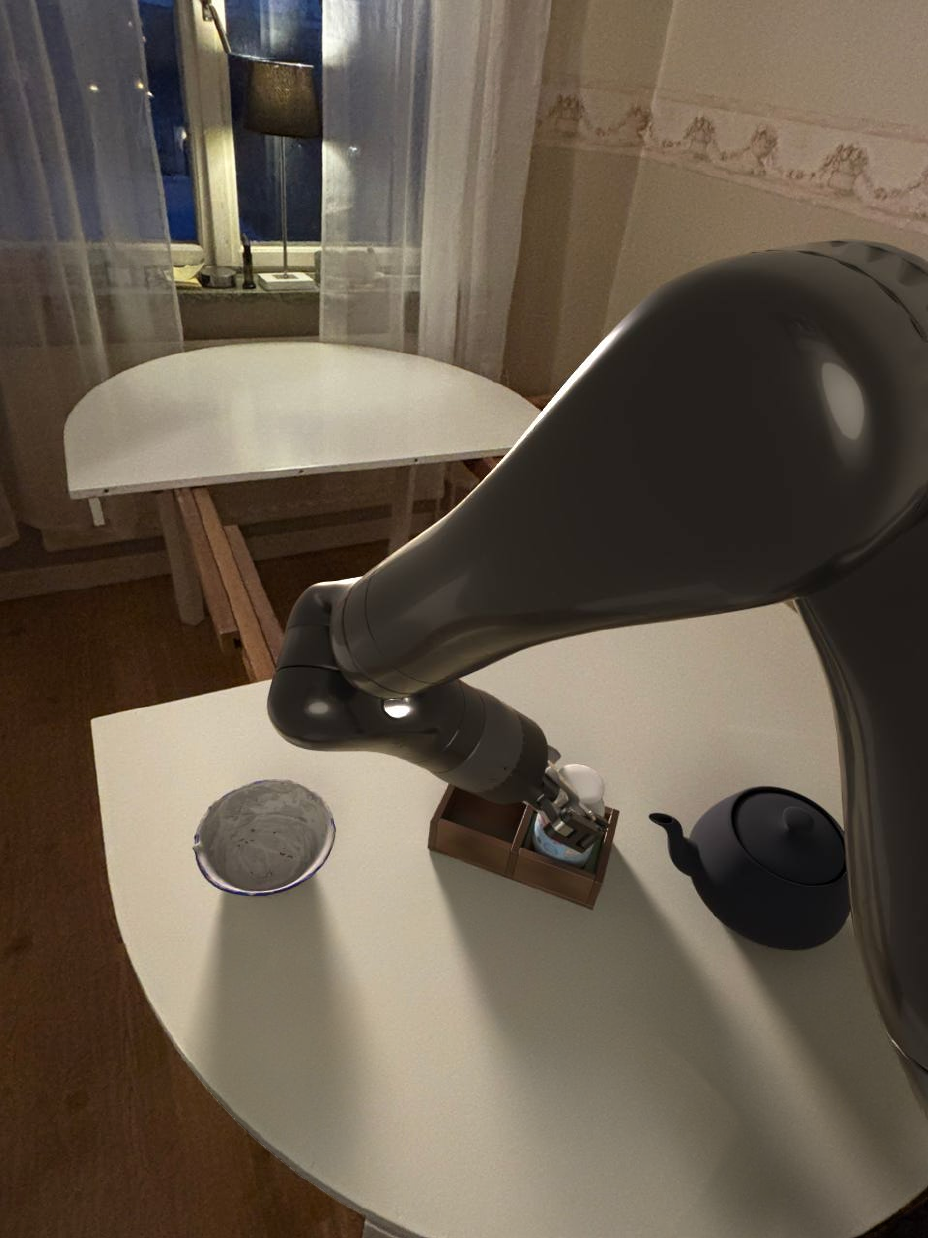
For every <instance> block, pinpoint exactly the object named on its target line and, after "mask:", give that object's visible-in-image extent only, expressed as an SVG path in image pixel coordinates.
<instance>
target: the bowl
mask: <svg viewBox="0 0 928 1238" xmlns="http://www.w3.org/2000/svg"><path fill="white" fill-rule="evenodd" d="M336 833H337V827H336V825H335V820H334V816H333V813H332V811H331V809H330V806H329V805H328V804H327V802H326V801H325V800H324V799H323V797H322V796H321V795H320V794H319V793H317V792H316V791H315V790H313V789H312V788H310V787H308V786H307V785H306V784H304V783H301V782H298V781H293V780H290V779H285V778H283V779H282V778H272V779H270V778H269V779H263V780H255V781H253V782H250V783H246V784H243V785H241V786H239V787H237V788H235V789H232V790H230V791H229V792H227V793H226V794H224V795H223V796H221V797H219V798H218V799H215V800H214V801H213V802H211V803H210V805H209V806H208V808H207V810H206V811H205V812H204V814H203V816H202V818H201V820H200V821H199V823H198V825H197V829H196V832H195V834H194V837H193V839H194V845H193V846H192V848H191V849H192V850H193V852H194V857H195V862H196V865H197V868H198V870H199V871H200V873H201V875H202V876H203V878H204V879H205V880H206V881H207V882H208V883H209V884H210V885H211V886H213V887H214V888H216V889H217V890H219V891H222V892H225V893H228V894H231V895H237V896H241V897H247V898H254V899H269V898H274V897H278V896H281V895H283V894H286V893H287V892H290V891H291V890H294V888H296V887H298V886H300V885H302V884H303V883H305V882H306V881H308V880H309V879H311V878H312V877H313V876H314V875H316V873H317V872H318V871H319V870H320V869H321V868H322V867H323V866H324V865H325V863H326V862H327V861H328V858H329V856H330V854H331V852H332V850H333V847H334V845H335V844H334V843H335V840H336Z"/></svg>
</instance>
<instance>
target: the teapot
mask: <svg viewBox="0 0 928 1238" xmlns="http://www.w3.org/2000/svg"><path fill="white" fill-rule="evenodd" d="M648 819H649V820H650V822H652V823H654V824H656V825H658V826H659V827H661V828H663V829H664V831H665V833H666V835H667V836H666V837H667V839H666V840H667V843H666V844H667V851H668V855H669V858H670V860H671V862H672V864H673V865H674V867H675V868H676V869H677V870H678V871H679V872H681V873H682V874H683V875H686V876H687V877H689V878H690V879H691V882H692V885H693V887H694V889H695V891H696V893H697V894H698V896H699V898H700V899H701V901H702V903H703V904H704V906H706V908H707V909H708V910H709V912H711V914H712V915H713V916H714V917H715V918H716V919H717V920H719V922H721V923H722V924H723V925H724V926H725V927H726V928H728V929H729V930H730V931H732V932H733V933H735V934H737V935H738V936H740V937H742V938H744V939H746V940H748V941H750V942H752V943H753V944H757V945H759V946H763V947H766V948H770V949H774V950H781V951H791V952H793V951H794V952H795V951H804V950H811V949H813V948H816V947H817V948H818V947H820V946H822V945H824V944H826V943H828V942H829V941H831V940H832V939H833V938H835V937H836V936H837V935H838V934H839V933H840V931H841V930H842V929H843V927H844V926H845V924H846V922H847V920H848V918H849V916H850V915H851V911H850V903H849V895H848V883H847V871H846V860H845V841H844V828H843V827H842V826H841V825H840V824H839V822H838V821H837V820H836V819H835V818H834V817H833V816H832V814H830V813H829V811H827V810H826V809H825V808H824V807H823V806H821V805H820V804H818V803H817V802H816V801H814V800H812V799H811V798H810V797H809V798H808V797H807V796H806V795H803V794H802V793H799V792H796V791H794V790H791V789H787V788H785V787H784V788H783V787H780V786H779V787H778V786H772V785H759V786H751V787H749V788H744V789H743V790H741V791H737V792H736V793H733V794H732V795H731V794H730V795H729V796H728V797H725V798H724V799H721V800H720V801H718V802H717V803H715V804H714V805H712V806H711V807H710V808H709V809H707V811H705V812H704V813H703V814H702V815H701V816H700V818H699V819H698V820H697V821H696V823H695V824H694V826H693V828H691V832H690V833H689V837H687V836H684V829H683V826H682V824H681V822H680V821H679V819H677V818H675V817H674V816H673V815H670V814H667V813H662V812H651V813H649V814H648Z"/></svg>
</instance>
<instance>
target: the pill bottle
mask: <svg viewBox="0 0 928 1238" xmlns="http://www.w3.org/2000/svg"><path fill="white" fill-rule="evenodd" d="M558 773H559V774H560V775H561V776H562V777H563V778H564V779H565V780H566V781H567V782H568V783H569V784H570V785H571V786H572V787H574V788H575V789H576V790H577V792H578V795H579V799H580V802H581V803H582V804H583V805H584V806H585V807H586V808H587V809H588V810H590V811H592V812H594V813H596V814H598V815H600V816H602V817H604V814H605V806H606V805H605V801H604V794H605V782H604V780H603V778H602V777H601V775H600V774H599V773H598V772H597V771H595V770H594V769H593V768H590V767H589V766H586V765H583V764H577V763H571V764H567V765H565V766H563V767H562V768H560V769H559V770H558ZM566 794H567V793H565V792H564V791H563V790H562V789H561V788H560V791H559V794H558V797H557V799H556V801H555V802H554V803H555V804H556V803H558V802H559V801H560V800H561V799H562V798H563V797H564V796H565V795H566ZM572 810H573V812H575V813H577V814H580V813H579V812H578V811H577V810H576V809H572ZM547 823H549V822H548V821H547V820H546V819H544V818H543V817H542V816H541V815H540V814H539V813H538V815H537V819H536V822H535V826H534V830H533V833H532V837H531V841H530V851H532V852H535V853H537V854H540V855H543V856H546V857H548V858H551V859H554V860H557V861H559V862H562V863H565V864H568V865H570V866H573V867H576V868H579V869H581V870H582V869H583V868H584V867H585V865H586V864H587V861H588V859H589V856H590V854H591V851H592V848H593V846H594V844H593V845H592V846H591V847H589V848H588V849H587V850H586V851H585V852H584V853H583V854H582V853H580V852H577V851H575V850H573V849H571V848H569V847H567V846H565V845H563V844H561V843H559V842H557V841H554V840H552V839H551V838H549V837H548V836H547V835H546V834H545V832H544V830H543V827H544V826H545V825H546V824H547Z"/></svg>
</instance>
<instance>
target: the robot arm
mask: <svg viewBox="0 0 928 1238" xmlns="http://www.w3.org/2000/svg"><path fill="white" fill-rule="evenodd" d="M788 602H792V604H793V606H794V607H795V609H796V611H797V614H798V616H799V619H800V622H801V623H802V625H803V627H804V629H805V632H806V634H807V636H808V638H809V641H810V643H811V645H812V647H813V650H814V652H815V655H816V658H817V661H818V663H819V667H820V669H821V672H822V674H823V677H824V681H825V685H826V689H827V692H828V695H829V696H828V697H829V701H830V704H831V708H832V713H833V720H834V725H835V731H836V739H837V741H836V742H837V750H838V751H837V752H838V763H839V775H840V776H839V777H840V790H841V792H840V793H841V807H842V823H843V831H844V841H845V860H846V871H847V883H848V895H849V903H850V916H851V922H852V923H851V924H852V930H853V934H854V939H855V944H856V949H857V953H858V957H859V961H860V966H861V970H862V973H863V976H864V980H865V984H866V987H867V989H868V991H869V995H870V997H871V1000H872V1003H873V1005H874V1008H875V1010H876V1013H877V1015H878V1017H879V1020H880V1022H881V1024H882V1026H883V1029H884V1031H885V1033H886V1036H887V1038H888V1040H889V1043H890V1045H891V1047H892V1050H893V1052H894V1054H895V1056H896V1058H897V1061H898V1063H899V1065H900V1067H901V1068H902V1072H903V1074H904V1076H905V1078H906V1080H907V1083H908V1085H909V1087H910V1089H911V1092H912V1094H913V1096H914V1099H915V1100H916V1102H917V1105H918V1107H919V1109H920V1111H921V1112H922V1114H923V1116H924V1119H925V1121H926V1122H927V1123H928V261H927V260H926V259H925V258H923V257H922V256H920V255H918V254H915V253H912V252H910V251H907V250H904V249H902V248H900V247H897V246H895V245H892V244H890V243H886V242H878V241H873V240H866V239H859V238H858V239H857V238H841V239H840V238H839V239H829V240H820V241H813V242H812V241H811V242H804V243H801V244H795V245H790V246H783V247H778V248H770V249H765V250H762V251H751V252H747V253H742V254H737V255H733V256H729V257H724V258H720V259H716V260H713V261H710V262H708V263H706V264H704V265H701V266H698V267H696V268H695V269H691V270H689V271H687V272H685V273H682V274H680V275H678V276H676V277H674V278H672V279H670V280H668V281H667V282H665V283H664V284H662V285H661V286H659V287H658V288H656V289H655V290H653V291H652V292H651V293H649V294H648V295H646V297H645V298H643V299H642V300H641V301H640V302H639V303H637V305H635V306H634V307H633V308H632V309H631V310H630V311H629V312H628V313H627V315H626V316H624V317H623V318H622V319H621V321H620V322H619V323H617V324H616V325H615V326H614V327H613V329H612V330H611V331H610V332H609V333H608V334H607V335H606V336H605V337H604V338H603V340H602V341H600V343H599V344H598V345H597V346H596V347H595V348H594V350H593V351H592V352H591V353H590V354H589V355H588V356H587V358H586V359H585V360H584V361H583V362H582V363H581V364H580V366H579V367H578V368H577V369H576V370H575V371H574V372H573V374H572V375H571V376H570V377H569V378H568V379H567V381H566V382H565V383H564V384H563V385H562V387H561V388H560V389H559V391H557V393H555V395H554V397H553V398H552V399H551V400H550V401H549V402H548V404H547V405H546V406H545V407H544V408H543V410H542V411H541V412H540V414H539V415H538V416H537V417H536V418H535V420H534V421H533V422H532V423H531V424H530V426H529V427H528V428H527V430H526V431H525V432H524V433H523V435H521V437H520V438H519V439H518V440H517V442H516V443H515V444H514V446H513V447H512V448H511V449H510V450H509V452H508V453H507V454H506V455H505V456H504V457H503V458H502V459H501V460H500V461H499V463H497V464H496V466H495V467H494V468H493V469H492V470H491V472H489V473H488V474H487V476H486V477H485V478H484V479H483V480H482V481H480V483H479V484H478V485H477V486H475V488H474V489H473V490H472V491H471V492H470V493H469V494H468V495H467V496H465V498H464V499H463V500H461V501H460V503H459V504H458V505H456V506H455V507H454V508H452V510H451V511H450V512H448V513H447V514H446V515H445V516H444V517H442V518H441V519H439V520H438V521H437V522H436V523H434V524H433V525H431V526H430V527H428V528H427V529H426V530H424V531H422V532H421V533H420V534H419V535H417V536H416V537H415V538H412V539H411V540H410V541H408V542H407V543H405V544H404V545H403V546H402V547H400V548H399V549H397V550H396V551H395V552H393V553H392V554H390V555H389V556H388V557H386V558H384V560H382V561H381V562H380V563H378V564H376V565H375V566H374V567H373V568H371V569H370V570H369V571H367V572H366V573H365V574H364V575H363V576H359V577H358V576H357V577H352V578H347V579H341V580H336V581H323V582H319V583H314V584H312V585H311V586H308V587H307V588H306V589H305V590H304V591H302V593H301V594H300V596H299V597H298V599H297V600H296V602H295V603H294V605H293V607H292V609H291V610H290V614H289V617H288V620H287V622H286V627H285V630H284V635H283V637H282V641H281V646H280V648H279V649H280V650H279V653H278V657H277V661H276V664H275V669H274V673H273V675H272V678H271V682H270V686H269V691H268V694H267V699H266V712H267V714H266V715H267V717H268V720H269V723H270V724H271V726H272V728H273V729H274V730H275V732H276V733H277V734H278V735H279V736H280V737H281V738H282V739H283V740H285V741H286V742H287V743H289V744H291V745H292V746H294V747H297V748H299V749H302V750H308V751H315V752H324V753H325V752H327V753H330V752H331V753H335V752H336V753H338V752H339V753H341V752H347V753H348V752H349V753H350V752H354V753H355V752H367V753H376V754H382V755H387V756H391V757H396V758H398V759H399V760H403V761H405V762H407V763H410V764H412V765H415V766H417V767H419V768H421V769H423V770H426V771H428V772H429V773H430V774H432V775H433V776H435V777H436V778H438V779H439V780H441V781H443V782H445V783H447V784H451V785H453V786H456V787H458V788H460V789H463V790H465V791H467V792H470V793H472V794H475V795H477V796H479V797H481V798H484V799H486V800H488V801H491V802H494V803H498V804H510V803H516V802H521V801H522V802H523V803H524V804H526V805H530V806H532V807H533V808H534V809H535V810H536V811H537V812H538V813H539V814H540V815H541V816H542V817H543V818H544V819H546V820H547V821H548V822H549V823H547V824H546V825H545V826H544V827H543V830H544V832H545V834H546V835H547V836H548V837H549V838H551V839H552V840H554V841H557V842H559V843H561V844H563V845H565V846H567V847H569V848H571V849H573V850H575V851H577V852H580V853H582V854H583V853H584V852H585V851H586V850H587V849H588V848H589V847H591V846H592V845H593V844H594V843H595V842H596V841H598V840H599V839H600V838H601V837H602V836H603V835H604V834H605V833H606V832H608V830H607V828H608V827H609V826H610V824H609V823H608V821H607V820H606V819H605V818H604V817H602V816H600V815H598V814H596V813H594V812H592V811H590V810H588V809H587V808H586V807H585V806H584V805H583V804H582V803H581V802H580V799H579V795H578V792H577V790H576V789H575V788H574V787H572V786H571V785H570V784H569V783H568V782H567V781H566V780H565V779H564V778H563V777H562V776H561V775H560V774H559V773H558V772H559V770H558V767H557V766H556V765H555V764H556V763H557V762H558V761H559V760H560V759H561V757H562V754H561V753H560V752H559V751H558V749H557V748H555V747H553V746H552V745H550V744H548V740H547V738H546V737H547V736H546V734H545V733H544V730H543V729H542V728H541V727H540V726H539V724H538V723H537V722H536V721H534V720H533V719H532V718H530V717H529V716H527V715H525V714H523V713H522V712H520V711H519V710H517V709H515V708H514V707H512V706H510V705H509V704H508V703H505V702H504V701H502V700H501V699H500V698H498V697H496V696H494V695H493V694H491V693H489V692H487V691H485V690H483V689H481V688H478V687H474V686H472V685H471V684H469V683H467V682H466V681H464V680H462V678H464V677H467V676H469V675H472V674H474V673H476V672H478V671H481V670H483V669H485V668H487V667H489V666H492V665H493V664H496V663H497V662H500V661H503V660H505V659H507V658H509V657H511V656H514V655H515V654H518V653H520V652H522V651H525V650H528V649H531V648H534V647H537V646H540V645H541V646H542V645H545V644H548V643H552V642H556V641H560V640H565V639H569V638H574V637H578V636H584V635H588V634H593V633H597V632H603V631H610V630H611V631H612V630H616V629H623V628H631V627H641V626H647V625H655V624H663V623H670V622H676V621H683V620H691V619H697V618H703V617H710V616H716V615H723V614H730V613H735V612H742V611H746V610H752V609H758V608H759V609H760V608H764V607H769V606H774V605H780V604H784V603H788ZM560 788H561V789H562V790H563V791H564V792H565V793H567V794H566V795H565V796H564V797H563V798H562V799H561V800H560V801H559V802H558V803H556V804H555V803H554V802H555V801H556V799H557V797H558V794H559V791H560ZM572 809H576V810H577V811H578V812H579V813H580V814H577V813H575V812H573V810H572Z"/></svg>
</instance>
